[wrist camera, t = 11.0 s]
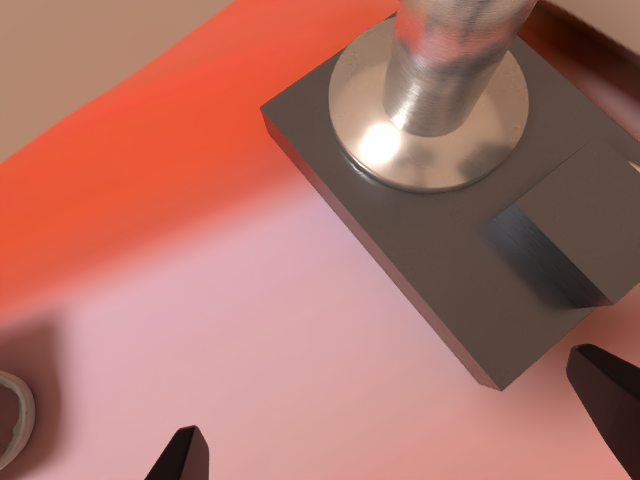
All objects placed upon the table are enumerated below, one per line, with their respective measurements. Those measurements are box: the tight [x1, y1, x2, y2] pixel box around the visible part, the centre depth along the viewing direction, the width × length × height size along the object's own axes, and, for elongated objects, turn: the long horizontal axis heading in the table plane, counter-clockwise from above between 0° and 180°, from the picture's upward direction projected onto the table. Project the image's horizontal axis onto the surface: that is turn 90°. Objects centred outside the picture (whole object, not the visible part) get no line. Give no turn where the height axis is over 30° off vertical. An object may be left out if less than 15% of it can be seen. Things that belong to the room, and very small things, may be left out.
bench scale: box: [260, 11, 640, 391], centre depth 22 cm, size 20×15×6 cm
